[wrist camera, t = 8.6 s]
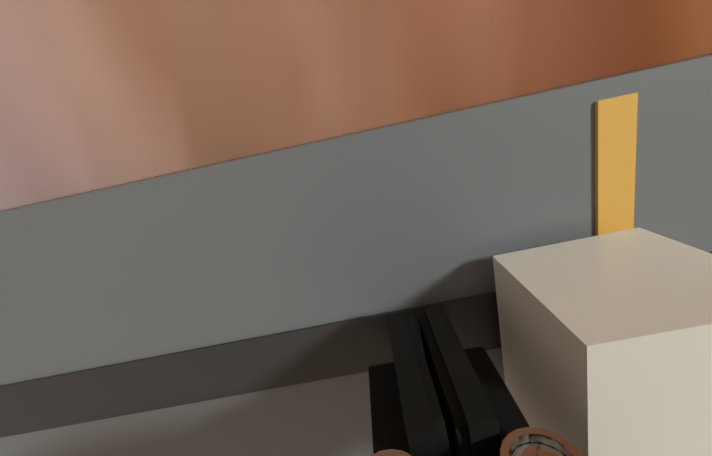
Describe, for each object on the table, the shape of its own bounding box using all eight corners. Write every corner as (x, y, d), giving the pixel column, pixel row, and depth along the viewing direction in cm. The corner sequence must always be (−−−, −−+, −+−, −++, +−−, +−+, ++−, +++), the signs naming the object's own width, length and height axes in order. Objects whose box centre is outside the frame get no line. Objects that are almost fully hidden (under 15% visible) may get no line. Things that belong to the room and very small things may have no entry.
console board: (-172, 248, 12) (-279, 274, 10) (838, 25, 10) (959, 0, 8) (11, 503, 16) (-39, 559, 14) (773, 375, 14) (844, 418, 12)
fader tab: (489, 253, 10) (587, 346, 6) (633, 225, 9) (842, 301, 5) (503, 392, 11) (589, 545, 7) (628, 370, 11) (789, 516, 7)
